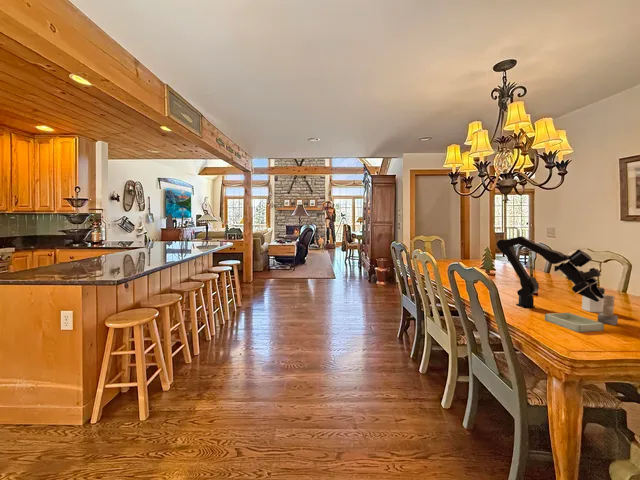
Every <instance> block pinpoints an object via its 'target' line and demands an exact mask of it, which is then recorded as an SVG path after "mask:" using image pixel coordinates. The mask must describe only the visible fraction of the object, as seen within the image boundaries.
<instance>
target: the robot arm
mask: <svg viewBox="0 0 640 480" xmlns="http://www.w3.org/2000/svg"><path fill="white" fill-rule="evenodd" d="M518 245H520V246H522V247H524V248H526V249H528V250H530V251H532V252H534V253H536V254H538V255H540V256H541V257H542V258H544V260H545V261H547V262H549V263H550V264H552V265H553V266H554V269H553V271H554V272H558V271H560V272H562V274H563V275H565V277H567V281H570V282H572V283H573V284H574V285H573V286H572V288H571V289H572V291H573V292H574V293H575V294H577V295H580V296H582V297H583V296H585V297H587V298H589V299H592V300H594V301H596V302H598V301H599V299H598V298H597V297H596V296H598V297H600V298H602V299H603V298H604V296H603V295H602V293H601V292H600V290H599V288H598V287H599V286H598V284H599V280H598V279H597V278H598V277H600V276H602V274H601V271H600V270H599V269H598V268H595V267H592V268H589V269H588V271H583V270H580V269H578V267H579V268H582V267H583V266H585V265H586V264H588V263H589V262H590V261H592V260H593V258H592V256H590V255H589V254H588V253H586V252H584V251H583V250H581V249H580V248H579V249H577V250H576V251H575V252H573V253H572V254H571V255H567V254H564V253H563V252H560V251H558V250H554V249H550V248H547V247H545V246H542V245H541V244H539V243H537V242H534V241H532V240H530V239H528V238H526V237H525V236H523V235H522V236H520V235H519V236H516V237H513V238H504V239H503V238H502V239H499V240H498V241H496V247H497V249H498V250H499V251H500V252H501V253H502V254H503V255H505V257H506V258H507V259H508V261H509V263H510V265H511V267H512V268H513V270H514V272H515V273H516V275H517V276H518V278H519V282H520V287H521V288H520V289H518V290H517V291H516V294H517V296H518V303H515V305H516V306H519V307H522V308H525V309H528V308H529V309H530V308H536V305H534V301H535V299H534V296H533V295H535V294H536V293H537V292H538V291H539V289H540V285H539V284H540V283H539V282H538V281H537V279H536V277H535V276H534V277H531V276H530V275H529V274H528V272H527V270H526V268H525V267H524V266H523V264H522V262H521V261H520V259H519V257H518V256H517V254H516V252H515V247H514V246H518ZM565 261H567V262H565ZM556 264H558V265H556Z"/></svg>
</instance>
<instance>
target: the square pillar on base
mask: <svg viewBox="0 0 640 480" xmlns="http://www.w3.org/2000/svg"><path fill="white" fill-rule="evenodd" d="M614 305H615V296H614V295H609V294H605V295H604V305H603V312H602V313H597V322H601V323H604V325H611V326H616V325H617V324H618V320H619V315H615V314H614V307H615V306H614Z"/></svg>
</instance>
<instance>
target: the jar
mask: <svg viewBox="0 0 640 480" xmlns="http://www.w3.org/2000/svg"><path fill="white" fill-rule="evenodd" d="M597 287H598V288H599V290H600V292H601V293H602V295H603V296H604V295H606V293H605V291H606V290H605V288H604V287H601V286H597ZM596 297H597V298H598V299H599V301H598V302H596V301H594V300H592V299H589V298H587V297H585V296H582V297H581V300H582V301H581V309H582V310H583V311H585V312H589V313H597V314H600V313H603V305H604V298H603V299H602V298H600V297H598V296H596Z"/></svg>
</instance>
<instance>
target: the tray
mask: <svg viewBox="0 0 640 480" xmlns="http://www.w3.org/2000/svg"><path fill="white" fill-rule="evenodd" d="M544 321H545V322H549V323H552V324H554V325H556V326H559V327H563V328H565V329H568V330H570V331H573V332H576V333H588V332H591V333H592V332H602V331H604V330H605V324H604V323H601V322H598V320H594V319H592V318H591V319H590V318H587V317H583V316H582V315H581V316H580V315H577V314H574V313H571V312H556V313H555V312H554V313H553V312H552V313H545V314H544Z"/></svg>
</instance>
